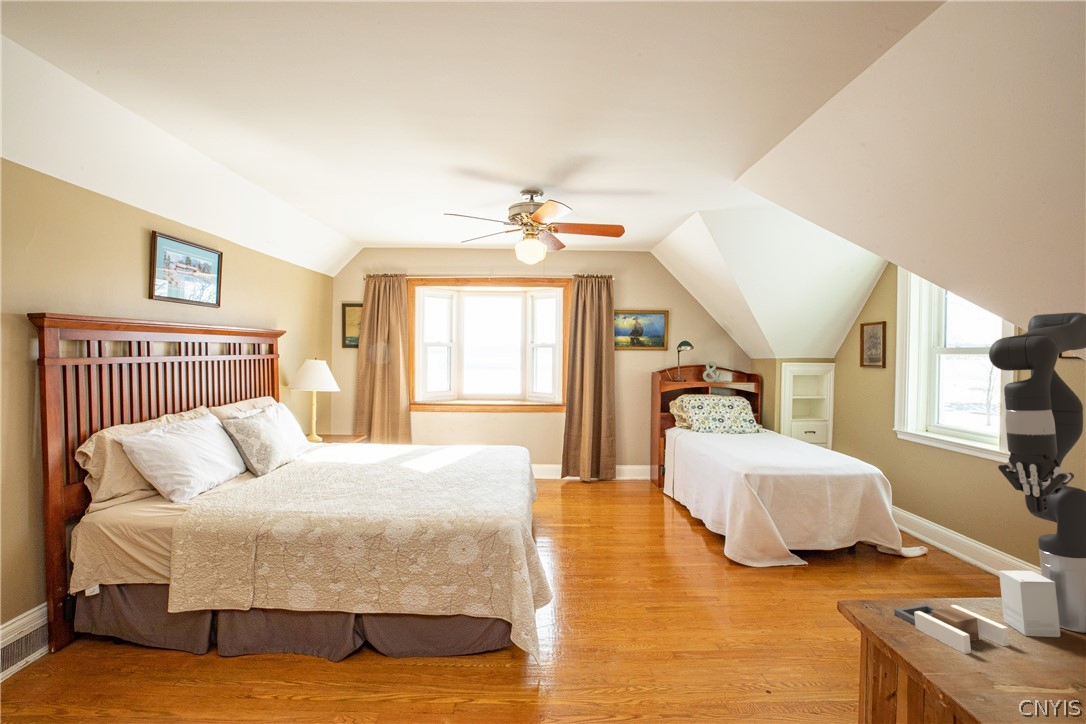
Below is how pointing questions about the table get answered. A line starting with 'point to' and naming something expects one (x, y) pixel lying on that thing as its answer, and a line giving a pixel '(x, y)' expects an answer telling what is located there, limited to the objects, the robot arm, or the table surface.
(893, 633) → the table surface
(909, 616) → the frame
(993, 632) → the white guide rails
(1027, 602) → the supplement box
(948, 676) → the table surface
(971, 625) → the walnut block
